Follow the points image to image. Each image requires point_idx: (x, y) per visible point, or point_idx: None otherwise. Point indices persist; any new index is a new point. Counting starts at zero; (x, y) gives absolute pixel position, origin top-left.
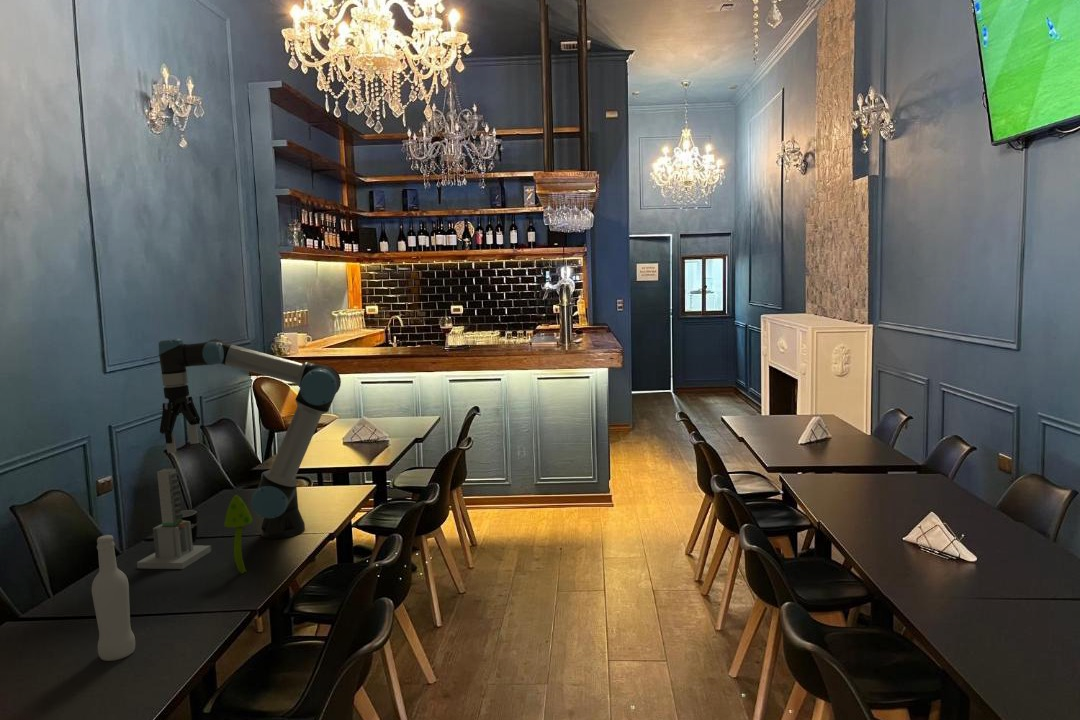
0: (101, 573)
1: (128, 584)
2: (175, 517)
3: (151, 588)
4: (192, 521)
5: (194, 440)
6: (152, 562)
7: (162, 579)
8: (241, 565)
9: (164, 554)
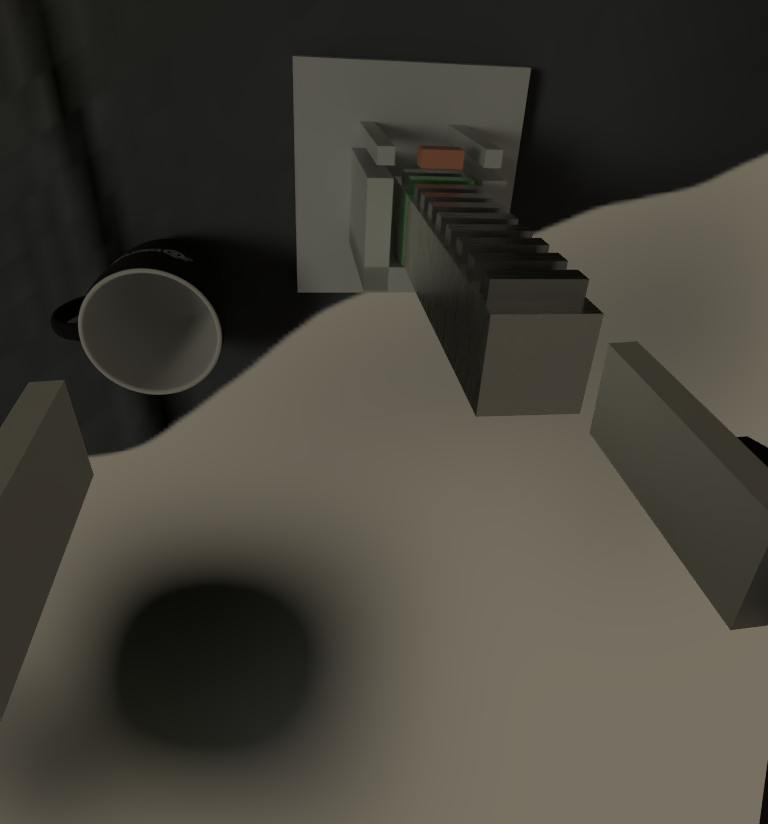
0: None
1: None
2: (481, 188)
3: (722, 76)
4: (169, 259)
5: (61, 445)
6: None
7: (630, 90)
8: None
9: None
